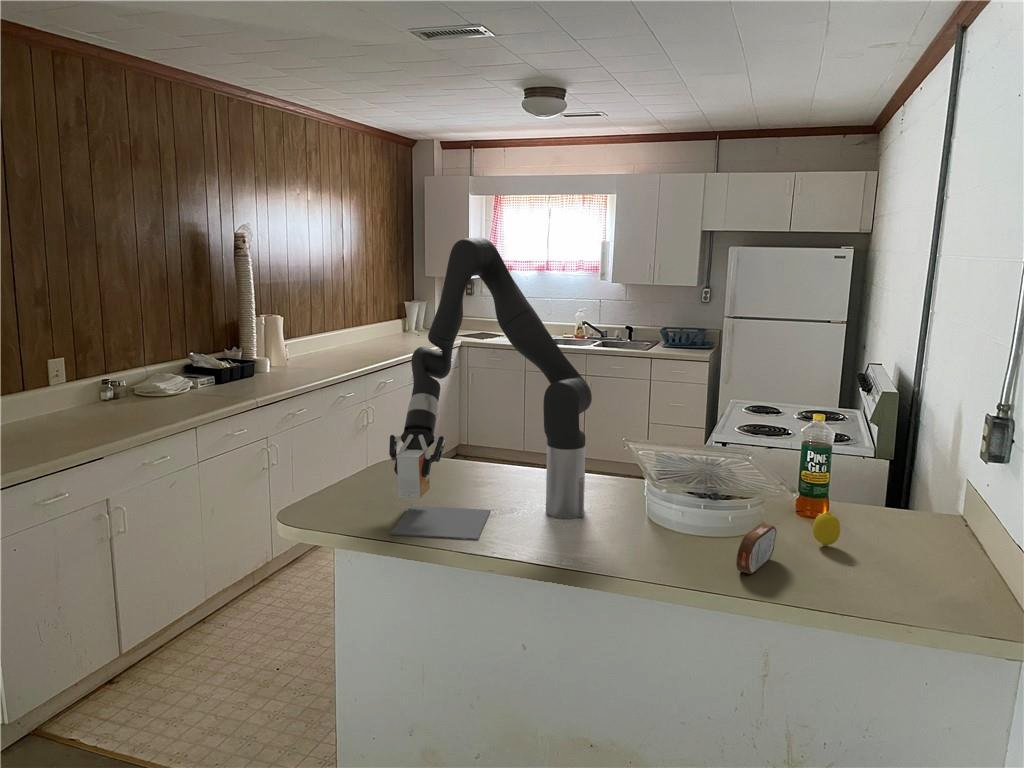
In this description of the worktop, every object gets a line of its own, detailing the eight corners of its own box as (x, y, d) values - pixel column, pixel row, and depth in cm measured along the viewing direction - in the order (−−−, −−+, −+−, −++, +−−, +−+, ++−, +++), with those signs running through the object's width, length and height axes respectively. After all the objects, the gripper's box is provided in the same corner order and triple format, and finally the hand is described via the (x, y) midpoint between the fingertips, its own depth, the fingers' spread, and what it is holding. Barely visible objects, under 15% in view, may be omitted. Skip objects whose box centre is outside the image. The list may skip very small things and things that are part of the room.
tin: (762, 553, 163) (765, 516, 162) (777, 557, 161) (780, 519, 160) (733, 577, 152) (736, 537, 150) (748, 581, 150) (751, 541, 148)
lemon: (822, 552, 164) (825, 517, 162) (806, 542, 169) (809, 508, 168) (844, 550, 165) (847, 515, 164) (827, 540, 171) (830, 506, 169)
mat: (490, 511, 187) (490, 509, 186) (477, 540, 169) (478, 538, 169) (411, 507, 189) (411, 505, 189) (390, 534, 172) (390, 533, 171)
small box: (420, 499, 182) (418, 457, 180) (398, 498, 183) (396, 456, 181) (430, 488, 189) (429, 448, 187) (409, 487, 191) (407, 446, 189)
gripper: (390, 407, 190) (378, 467, 181) (447, 408, 188) (437, 468, 179) (397, 422, 196) (386, 481, 187) (452, 424, 194) (443, 483, 185)
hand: (411, 474), depth 183 cm, fingers closed on small box, 6 cm apart
